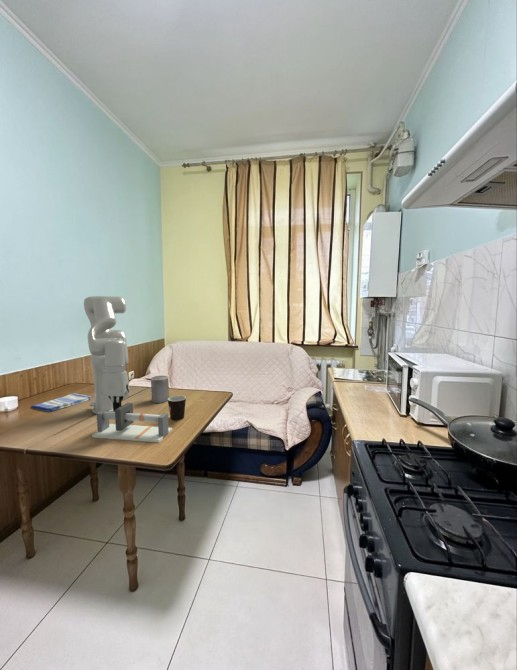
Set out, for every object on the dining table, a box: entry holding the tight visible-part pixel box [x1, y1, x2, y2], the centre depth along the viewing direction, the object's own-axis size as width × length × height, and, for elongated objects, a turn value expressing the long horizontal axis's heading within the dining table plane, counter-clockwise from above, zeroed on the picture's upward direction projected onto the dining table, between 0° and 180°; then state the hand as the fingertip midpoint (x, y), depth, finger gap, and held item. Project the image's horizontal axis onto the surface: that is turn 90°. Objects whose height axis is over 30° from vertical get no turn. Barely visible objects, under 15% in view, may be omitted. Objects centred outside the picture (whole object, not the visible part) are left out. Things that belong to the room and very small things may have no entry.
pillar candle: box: [150, 375, 170, 404], centre depth 170 cm, size 10×10×15 cm
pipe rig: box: [91, 410, 173, 443], centre depth 126 cm, size 30×12×9 cm, turn 82°
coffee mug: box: [167, 395, 187, 422], centre depth 142 cm, size 12×9×10 cm
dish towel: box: [30, 392, 92, 413], centre depth 165 cm, size 17×24×3 cm
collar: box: [114, 402, 134, 431], centre depth 127 cm, size 2×9×9 cm, turn 172°
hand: (117, 410), depth 127 cm, fingers closed
